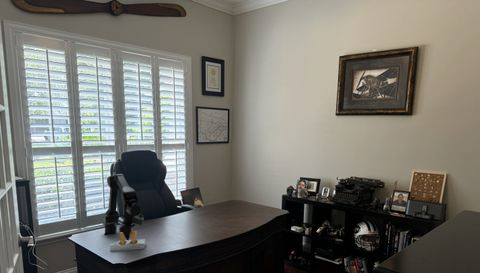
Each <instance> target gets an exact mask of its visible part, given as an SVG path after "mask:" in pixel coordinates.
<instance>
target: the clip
mask: <svg viewBox="0 0 480 273" xmlns="http://www.w3.org/2000/svg"><path fill="white" fill-rule="evenodd" d="M119 237H120V241H121V244H124V243H125V240H126V238H125V236H124V234H123V232H119ZM130 237H131V240H132V243H135V242H136V240H137V230H132V231H131V232H130Z"/></svg>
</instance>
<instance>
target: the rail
mask: <svg viewBox="0 0 480 273" xmlns="http://www.w3.org/2000/svg"><path fill="white" fill-rule="evenodd" d="M145 246H146V239H145V238H143V239H136V242H135V243H132V239H129V240H126V239H125V243H124V244H121V240H113V241H112V242H111V244H110V245H109V252H115V251H130V250H131V251H133V250H134V251H135V250H144V249H145Z"/></svg>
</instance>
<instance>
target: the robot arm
mask: <svg viewBox="0 0 480 273" xmlns="http://www.w3.org/2000/svg"><path fill="white" fill-rule="evenodd" d="M106 183H107V185H108V188H109V198H108V209H107V211H106V212H105V213H104V214H105V215H104V217H103V219H102V225H103V226H104V234H103V235H104V236H107V235H108V236H109V235H110V236H111V235H115V234H116V233H117V232H118V225H117V224H119V223H120V215H119V212H118V211H117V204H118V194H119V193H118V192H119V190H120V192H121V194H120V198H121V201H122V204H123V206H122V207H123V209H122V210H123V211H122V218H123V219H122V222H121V224H122V225H121V226H120V227H119V233H121V232H123V234H124V236H125V240H130V238H131V236H130V232H131V231H134V227H135V226H136V224H137V225H139V226H143V222H144V220H145V218H144V215H143V214H141V212H142V211H141V209H142V208H141V207H140V206H138V203H139V196H138V194H137V192H136V191H135V189H134V188H132V187H130V186H129V184H128V182H127V181H126V179H125V175H124V174H123V173H116V174H114V175H108V177H107V179H106Z"/></svg>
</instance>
